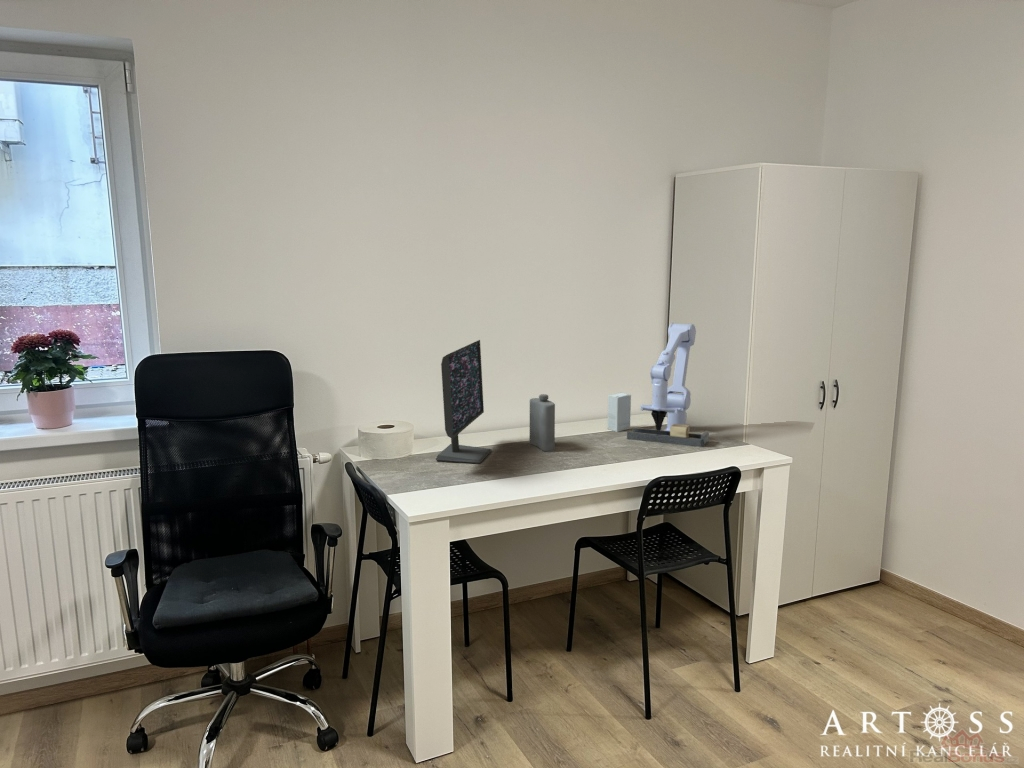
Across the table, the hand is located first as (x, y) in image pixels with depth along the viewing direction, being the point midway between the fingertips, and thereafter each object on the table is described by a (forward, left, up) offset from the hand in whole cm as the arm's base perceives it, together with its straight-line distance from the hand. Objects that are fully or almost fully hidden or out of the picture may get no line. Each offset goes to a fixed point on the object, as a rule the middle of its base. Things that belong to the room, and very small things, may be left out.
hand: (658, 429), depth 300 cm
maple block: (0, +8, -3) cm, 9 cm away
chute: (0, +4, -4) cm, 5 cm away
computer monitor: (+55, -56, -4) cm, 79 cm away
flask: (+30, -36, -4) cm, 47 cm away
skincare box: (-10, -19, -4) cm, 22 cm away
